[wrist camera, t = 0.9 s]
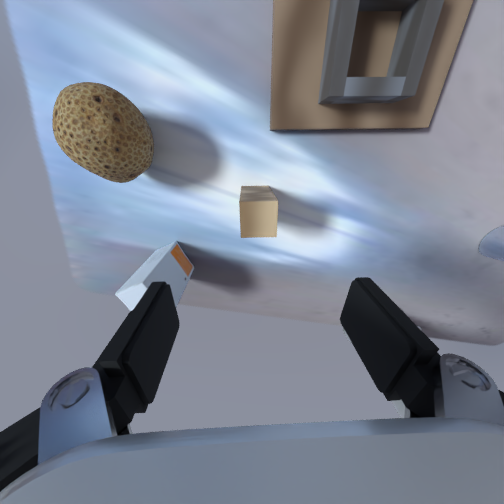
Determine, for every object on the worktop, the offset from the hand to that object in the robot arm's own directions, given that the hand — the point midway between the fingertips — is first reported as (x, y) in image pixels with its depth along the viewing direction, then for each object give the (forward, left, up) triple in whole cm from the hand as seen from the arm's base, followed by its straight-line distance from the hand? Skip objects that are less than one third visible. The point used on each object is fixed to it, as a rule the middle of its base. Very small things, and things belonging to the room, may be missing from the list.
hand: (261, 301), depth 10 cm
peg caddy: (-13, -16, -22) cm, 30 cm away
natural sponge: (+15, -8, -22) cm, 28 cm away
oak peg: (-1, 0, -22) cm, 22 cm away
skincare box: (+13, +10, -22) cm, 28 cm away
